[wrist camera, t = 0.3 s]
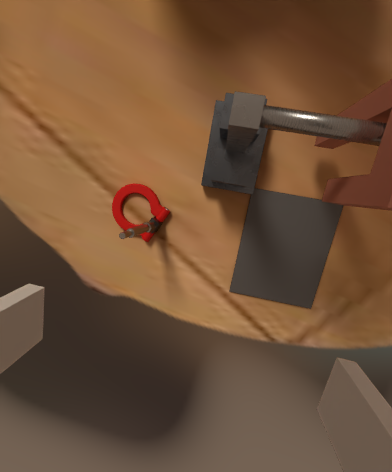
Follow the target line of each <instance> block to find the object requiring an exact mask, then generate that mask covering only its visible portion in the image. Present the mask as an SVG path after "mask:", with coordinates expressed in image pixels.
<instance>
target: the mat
mask: <svg viewBox="0 0 392 472" xmlns="http://www.w3.org/2000/svg"><path fill="white" fill-rule="evenodd" d="M342 208H343V205H339V204H334V203H328V202H322V200H319V199H313V198H307V197H302V196H296V195H290V194H285V193H279V192H273V191H268V190H262V189H256V188H254V192H253V194H251V197H250V202H249V206H248V211H247V215H246V220H245V224H244V229H243V233H242V238H241V242H240V246H239V251H238V255H237V260H236V264H235V269H234V273H233V278H232V282H231V287H230V292H235V293H239V294H244V295H249V296H253V297H258V298H263V299H268V300H272V301H277V302H282V303H286V304H291V305H296V306H300V307H305V308H310V309H311V307H312V304H313V301H314V297H315V294H316V291H317V288H318V285H319V281H320V278H321V275H322V272H323V269H324V266H325V262H326V259H327V256H328V253H329V250H330V247H331V243H332V240H333V237H334V234H335V231H336V228H337V224H338V221H339V218H340V215H341V212H342Z"/></svg>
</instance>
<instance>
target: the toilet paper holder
mask: <svg viewBox="0 0 392 472" xmlns="http://www.w3.org/2000/svg"><path fill="white" fill-rule="evenodd" d="M265 98H266V96H263V95H256V94H249V93H243V92H236V91H235V93H234V94H231V93H226V96H225V101H217V100H216V104H215V110H214V115H213V121H212V127H211V132H210V138H209V144H208V149H207V155H206V161H205V166H204V172H203V178H202V184H201V185H202V186H208V187H213V188H219V189H225V190H230V191H236V192H241V193H247V194H253V192H254V187H255V183H256V179H257V174H258V170H259V165H260V161H261V156H262V152H263V148H264V143H265V139H266V134H267V130H268V129H273V130H280V131H286V132H293V133H299V134H306V135H312V136H319V137H325V138H332V139H338V140H344V141H351V142H357V143H364V144H370V145H377V146H380V143H381V140H382V137H383V134H384V131H385V128H386V125H387V123H383V122H376V121H369V120H363V119H356V118H349V117H342V116H335V115H329V114H322V113H315V112H308V111H302V110H295V109H288V108H281V107H274V106H268V105H266V103H267V99H265Z"/></svg>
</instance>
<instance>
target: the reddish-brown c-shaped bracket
mask: <svg viewBox="0 0 392 472" xmlns="http://www.w3.org/2000/svg"><path fill="white" fill-rule="evenodd" d="M337 116H342V117H349V118H356V119H363V120H369V121H376V122H383V123H387V125H386V128H385V131H384V134H383V137H382V140H381V143H380V146H379V149H378V152H377V155H376V158H375V161H374V164H373V167H372V170H371V173H370V174H368V175H360V176H351V177H343V178H335V179H328V181H327V185H326V188H325V191H324V195H323V198H322V202H328V203H334V204H339V205H346V206H355V207H364V208H374V209H383V210H392V79H391V80H389V81H388V82H386V83H385V84H383V85H382V86H380V87H379V88H377V89H376V90H374V91H373V92H371V93H370V94H368V95H367V96H365V97H364V98H362V99H361V100H359V101H358V102H356V103H355V104H353V105H352V106H350V107H349V108H347V109H346V110H344V111H343V112H341V113H340V114H338V115H337ZM349 142H351V141H344V140H338V139H332V138H325V137H319V136H317V138H316V142H315V146H318V147H324V148H331V149H334V148H336V147H339V146H341V145H344V144H346V143H349Z"/></svg>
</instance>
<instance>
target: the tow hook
mask: <svg viewBox="0 0 392 472" xmlns="http://www.w3.org/2000/svg"><path fill="white" fill-rule="evenodd" d="M132 193H139V194H142V195H143V196H145V197H146V198H147V199H148V201H149V203H150V206H151V213H152V214H153V215H154V216H156V217H154V218H151V220H150V221H149V222H145V223H143V224H140V225H135V224H132V223H130V222H129V221H127V219H126V218H125V217H124V215H123V212H122V204H123V201H124V200H125V198H126V197H127V196H128V195H130V194H132ZM112 211H113V216H114V218H115V220H116V222H117V223H118V225H119V226H120V227H121V228H123V229H124V230H125V232H122V233H120V234H119V237H120V238H121V239H124V238H127V237H129V238H132V237H134V236H137V235H141V236H142V239H143V240H145V241H146V242H149V240H150V239H151V238H152V236H153V235H154V233H155V232H157V230H158V229H159V228H160V226H161V225H162V223H163V221H164V220H165V218H166V217H167V216H168V214H169V213H170V211H169V209H167V208H166V207H162V206H161V205H160V202H159V200H158V198H157V195H156V194H155V193H154V192H153V191H152V190H151V189H150V188H148V187H147V186H144V185H141V184H129V185H126V186H124V187H122V188H121V189H120V190H119V191H118V192H117V193H116V195H115V197H114V200H113V203H112Z"/></svg>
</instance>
